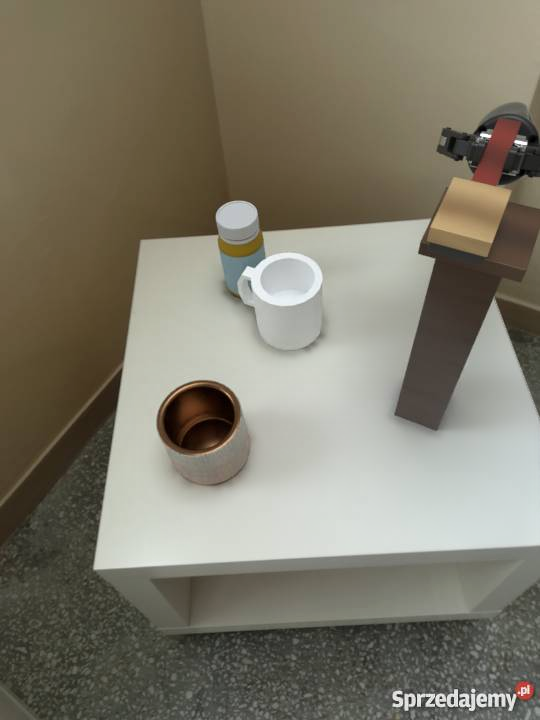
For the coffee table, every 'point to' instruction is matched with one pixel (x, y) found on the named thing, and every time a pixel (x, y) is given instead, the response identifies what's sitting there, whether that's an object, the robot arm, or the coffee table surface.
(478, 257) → the brush
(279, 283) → the mug
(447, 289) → the stand
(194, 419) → the planter
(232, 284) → the bottle
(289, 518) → the coffee table surface
